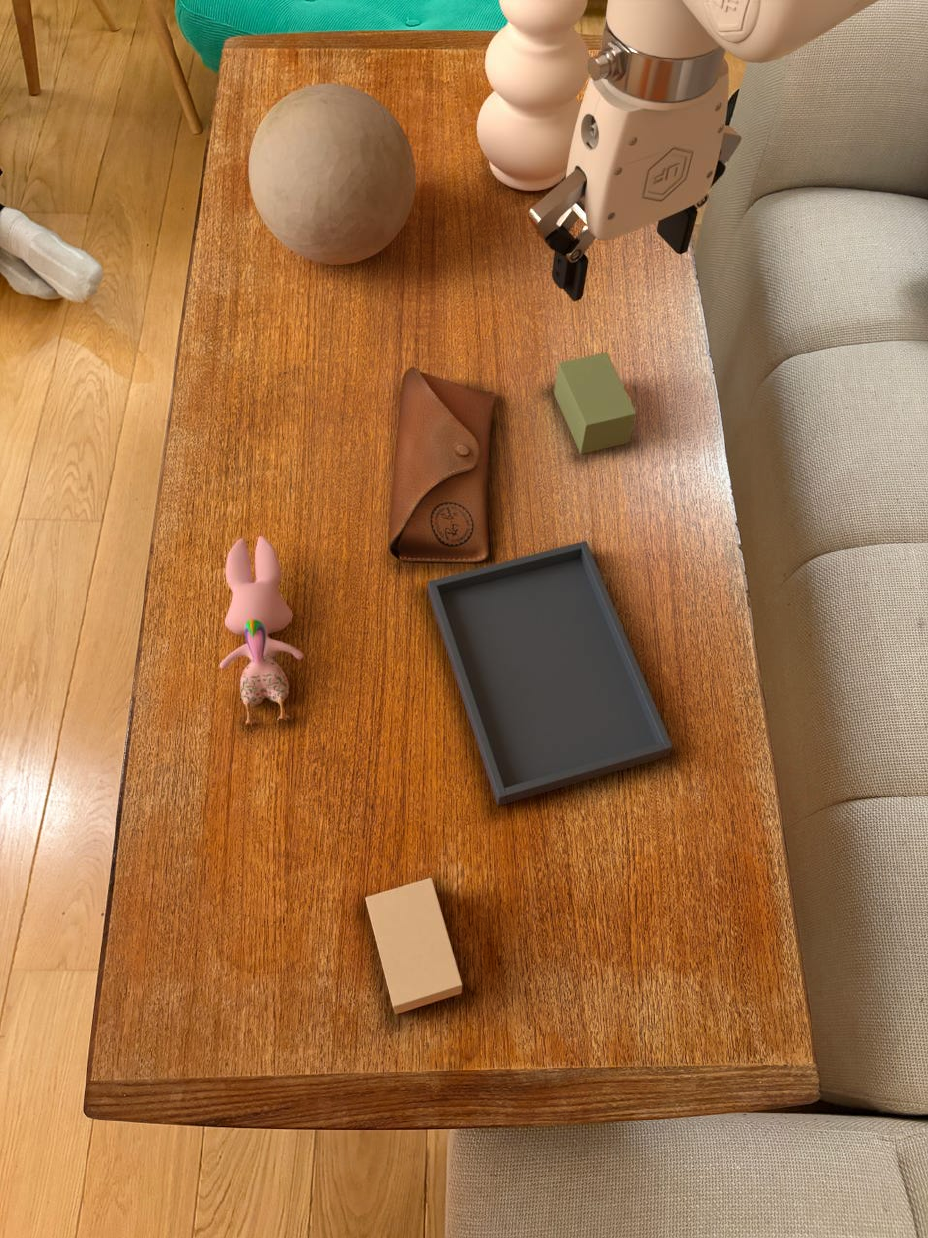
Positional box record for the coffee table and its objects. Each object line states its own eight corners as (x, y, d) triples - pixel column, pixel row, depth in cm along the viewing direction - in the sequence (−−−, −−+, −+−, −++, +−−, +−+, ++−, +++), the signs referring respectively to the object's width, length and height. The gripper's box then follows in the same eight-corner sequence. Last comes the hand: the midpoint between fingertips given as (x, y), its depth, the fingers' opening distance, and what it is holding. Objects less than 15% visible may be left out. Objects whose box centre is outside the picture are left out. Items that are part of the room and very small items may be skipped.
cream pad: (432, 890, 70) (431, 877, 66) (461, 993, 66) (462, 985, 63) (369, 909, 69) (364, 897, 65) (395, 1014, 66) (393, 1007, 62)
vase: (594, 196, 102) (636, -68, 79) (489, 212, 100) (502, -51, 78) (565, 126, 106) (596, -141, 84) (464, 140, 105) (469, -127, 83)
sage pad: (600, 382, 91) (607, 351, 87) (629, 442, 87) (636, 413, 84) (553, 393, 90) (558, 362, 86) (580, 454, 87) (586, 425, 83)
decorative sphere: (267, 190, 101) (239, 46, 88) (416, 187, 102) (411, 44, 88) (259, 300, 94) (228, 162, 81) (419, 298, 95) (414, 160, 82)
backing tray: (583, 553, 82) (586, 540, 80) (667, 756, 74) (673, 747, 73) (428, 593, 80) (427, 581, 79) (497, 806, 72) (498, 797, 71)
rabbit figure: (312, 721, 77) (293, 540, 81) (304, 703, 71) (284, 510, 75) (229, 733, 76) (215, 550, 81) (214, 715, 70) (199, 520, 75)
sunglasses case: (495, 561, 81) (453, 521, 76) (421, 581, 84) (376, 544, 79) (497, 387, 89) (459, 340, 84) (430, 411, 93) (389, 367, 87)
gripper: (579, 131, 58) (552, 340, 73) (810, 39, 63) (739, 255, 78) (510, 60, 61) (498, 275, 76) (736, -23, 65) (681, 196, 81)
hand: (620, 264), depth 77 cm, fingers open, 9 cm apart
